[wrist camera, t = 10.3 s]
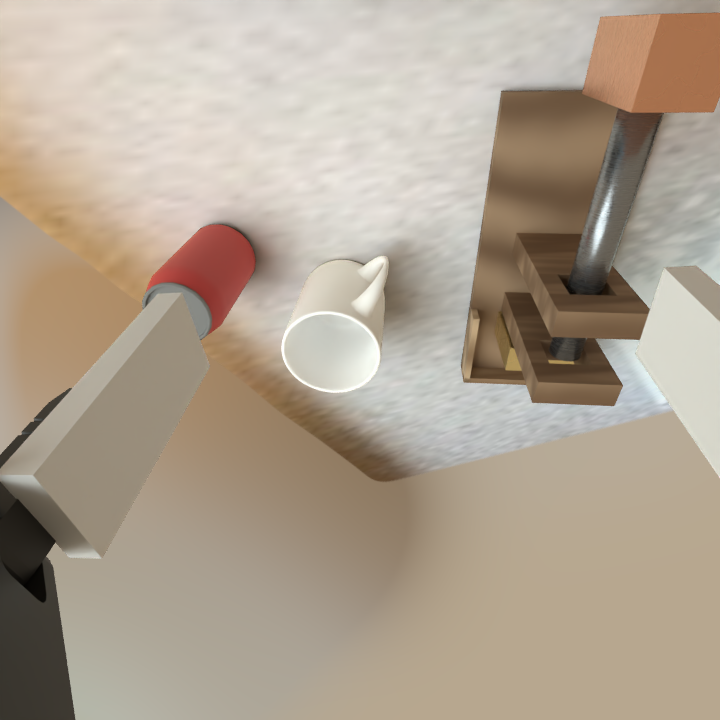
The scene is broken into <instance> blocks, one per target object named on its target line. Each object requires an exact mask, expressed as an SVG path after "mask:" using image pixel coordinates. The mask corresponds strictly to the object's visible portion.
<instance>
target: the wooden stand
mask: <svg viewBox="0 0 720 720" xmlns="http://www.w3.org/2000/svg"><path fill="white" fill-rule="evenodd" d="M582 92H583V90H560V91H501V98H500V104H499V111H498V118H497V125H496V132H495V138H494V145H493V152H492V159H491V165H490V172H489V179H488V186H487V192H486V199H485V206H484V213H483V220H482V226H481V233H480V240H479V247H478V253H477V260H476V267H475V274H474V280H473V287H472V294H471V301H470V308H469V314H468V321H467V328H466V335H465V341H464V348H463V355H462V362H461V369H462V376H463V382H467V383H493V384H518V385H527V388H528V391H529V394H530V397H531V400H532V403H554V404H578V405H602V406H614V405H615V403H616V401H617V398H618V396H619V394H620V391H621V389H622V387H623V385H622V383H621V381H620V380H619V378H618V376H617V375H616V373H615V371H614V370H613V368H612V366H611V365H610V363H609V361H608V360H607V358H606V356H605V355H604V353H603V352H602V350H601V348H600V347H599V345H598V343H597V342H596V340H595V338H602V339H634V340H640V338H641V335H642V332H643V329H644V326H645V323H646V320H647V317H648V314H649V311H650V309H649V308H648V307H647V305H646V304H645V303H644V302H643V301H642V300H641V299H640V297H639V296H638V295H637V294H636V293H635V292H634V290H633V289H632V288H631V287H630V286H629V285H628V283H627V282H626V281H625V280H624V279H623V278H622V276H621V275H620V274H619V273H618V272H617V271H616V269H615V268H614V267H613V266H611V269H610V272H609V275H608V278H607V281H606V284H605V287H604V290H603V293H602V295H570V294H569V293H568V291H567V289H566V288H567V284H568V281H569V277H570V274H571V270H572V267H573V263H574V260H575V256H576V253H577V249H578V246H579V242H580V239H581V235H582V232H583V228H584V225H585V221H586V218H587V214H588V211H589V207H590V204H591V200H592V197H593V193H594V190H595V186H596V183H597V180H598V176H599V173H600V169H601V166H602V162H603V159H604V155H605V152H606V148H607V145H608V141H609V138H610V134H611V131H612V127H613V124H614V120H615V117H616V113H617V110H618V107H615V106H612V105H610V104H607V103H605V102H602V101H599V100H597V99H594V98H592V97H589V96H586V95H584V94H582ZM498 312H502V314H503V317H504V319H505V322H506V325H507V328H508V331H509V334H510V337H511V340H512V343H513V346H514V349H515V352H516V355H517V358H518V361H519V364H520V367H521V370H522V371H513V370H505V367H504V364H503V360H502V357H501V353H500V350H499V346H498V343H497V340H496V336H495V333H494V332H495V326H496V321H497V316H498ZM552 337H569V338H587V340H586V343H585V345H584V348H583V351H582V354H581V357H580V359H578V360H576V361H573V362H574V364H553V363H549V361H548V360H559V359H557V358H555V357H553V356H552V355H551V354H550V352H549V347H550V344H551V340H552ZM560 361H563V360H560Z"/></svg>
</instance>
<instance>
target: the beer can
mask: <svg viewBox="0 0 720 720" xmlns="http://www.w3.org/2000/svg"><path fill="white" fill-rule="evenodd" d="M255 263H256V260H255V255H254V251H253V249H252V247H251V245H250V243H249V241H248V240H247V239H246V238H245V237H244V236H243V235H242V234H241V233H240V232H238V231H236V230H235V229H233V228H231V227H228V226H224V225H208V226H205V227H203V228H201V229H200V230H199V231H198V232H196V233H195V234H194V235H193V236H192V237H191V238H190V239H189V240H188V241H187V242H186V243H185V244H184V245H183V246H182V247H181V248H180V249H179V250H178V251H177V252H176V253H175V254H174V255H173V256H172V257H171V258H170V259H169V260H168V261H167V262H166V263H165V264H164V265H163V266H162V267H161V268H160V269H159V270H158V271H157V272H156V273H155V274H154V275H153V276H152V278H151V280H150V282H149V285H148V287H147V290H146V293H145V295H144V298H143V300H142V304H143V309H144V308H145V307H146V306H147V305H148V304H149V303H150V302H151V301H152V299H153V298H154V297H155V296H156V295H157V294H162V293H181V292H182V294H183V296H184V299H185V302H186V304H187V307H188V310H189V312H190V315H191V317H192V320H193V323H194V325H195V328H196V331H197V333H198V336H199V339H200V340H202V339H203V338H204V337H205V336H207V335H208V334H210V333H211V332H213V331H214V330H215V329H216V328H218V327H219V326H220V325H221V324H222V323H223V321H224V319H225V318H226V316H227V315H228V313H229V311H230V310H231V308H232V307H233V305H234V303H235V302H236V300H237V298H238V297H239V295H240V294H241V292H242V290H243V289H244V287H245V285H246V284H247V282H248V281H249V279H250V277H251V276H252V274H253V272H254V270H255Z"/></svg>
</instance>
